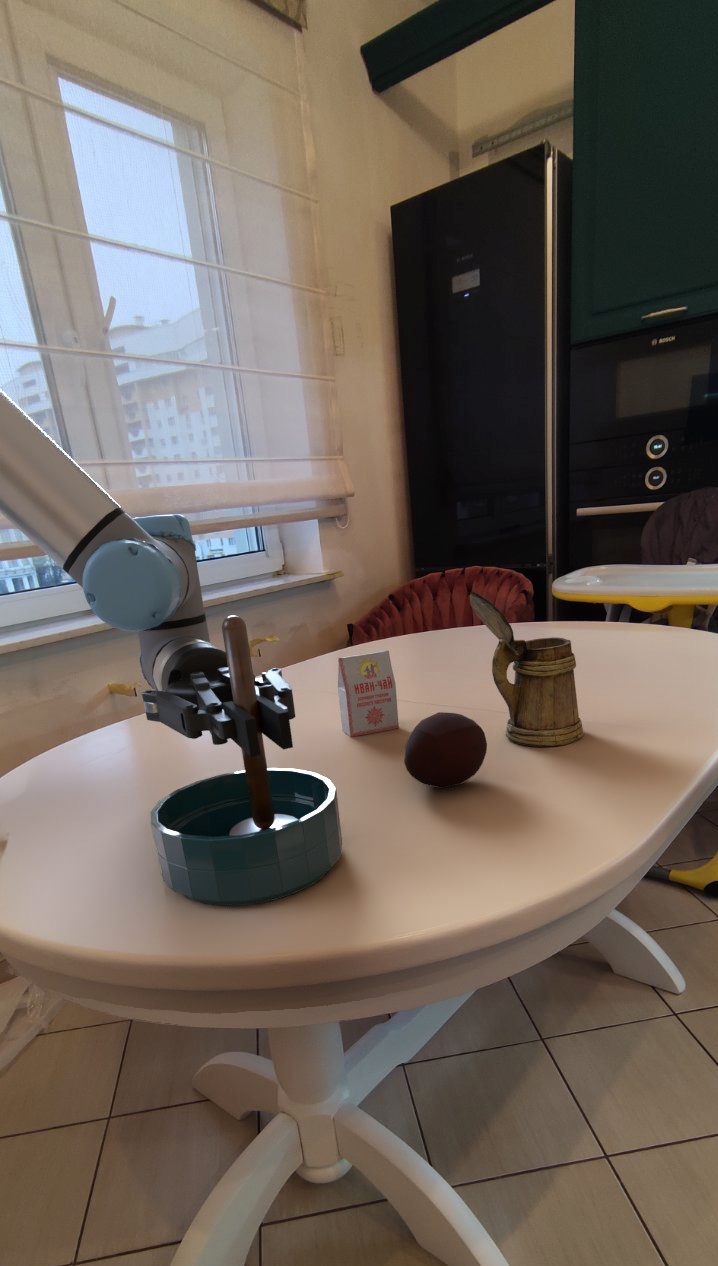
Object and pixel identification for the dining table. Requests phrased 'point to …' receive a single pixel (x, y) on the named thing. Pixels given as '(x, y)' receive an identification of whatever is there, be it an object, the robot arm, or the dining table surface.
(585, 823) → the dining table surface
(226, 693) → the robot arm
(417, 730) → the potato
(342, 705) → the tea bag
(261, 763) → the brown stick with disc
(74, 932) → the dining table surface
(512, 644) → the wooden mug
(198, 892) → the bowl
